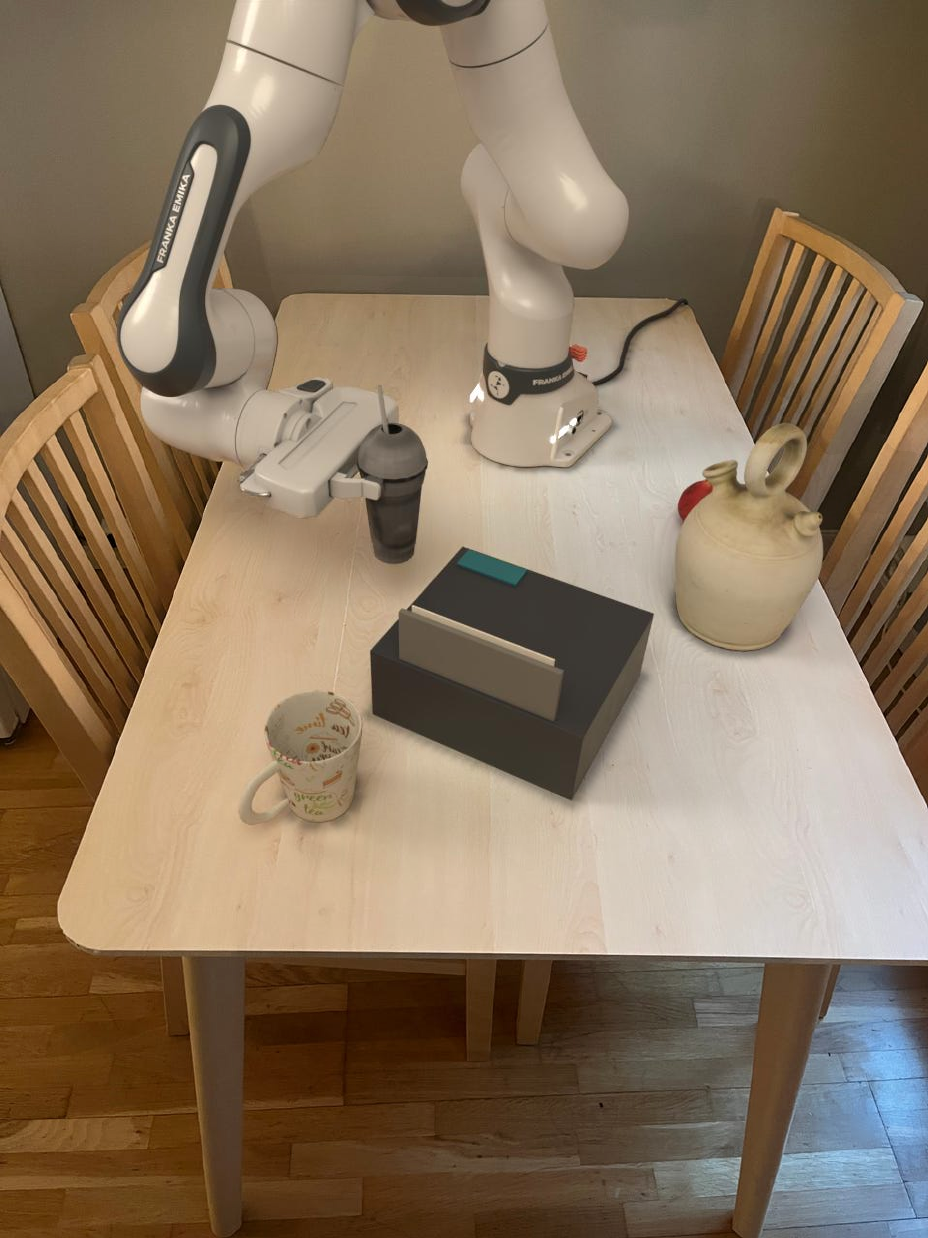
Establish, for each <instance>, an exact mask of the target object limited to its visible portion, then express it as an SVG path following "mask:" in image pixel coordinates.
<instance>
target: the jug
mask: <svg viewBox="0 0 928 1238" xmlns="http://www.w3.org/2000/svg"><path fill="white" fill-rule="evenodd" d="M783 446H784V447H783ZM782 447H783V450H782V453H781V456H780V458H779V460H778V462H777V464H776V465H775V467H774V468H773V470H772V471H771V472H770V473H769V474H768V475H767V473H768V470H769V467H770V465H771V463H772V461H773V460H774V458H775V457H776V455H777V454H778V452H779V451H780V449H782ZM807 449H808V441H807V437H806V433H804V431H803V430H802V428H800V427H798V426H797V425H796V424H792V423H789V422H782V423H778V424H776V425H773V426H772V427H770V428H769V429H767V430H766V431H765V432H764V433H763V434H762V435H761V436H760V437H759V438H758V440H757V441H756V442H755V444H754V445H753V447H752V449H751V450H750V453H749V454H748V457H747V460H746V463H745V467H744V473H743V481H744V483H740V482H739V481H738V479H737V478H738V477H737V476H738V465H739V462H738V461H737V460H735V459H729V460H725V461H721V462H718V463H714V464H712V465H709V466H707V467H706V468H704V469H703V471H701V474H702V477H704V478H705V479H707V480H708V481H709V483H710V484H711V485H712V486H713V490H712V492H711V493H710V494H709V495H707V496H706V497H705V498H703V499H702V500H701V501H700V502H699V503H698V504H697V505H696V506H695V507H694V508H693V509H692V511H691V512H690V513H689V515H688V516H687V517H686V519H685V521H684V522H682V525H681V527H680V530H679V533H678V536H677V540H676V545H675V546H676V547H675V556H674V582H675V584H674V585H675V601H676V611H677V615H678V616H679V619H680V621H681V623H682V624H683V625H684V627H685V628H686V629H687V630H688V631H689V632H690V633H691V634H692V635H694V636H695V637H697V638H699V639H700V640H703V641H704V642H706V643H708V644H710V645H712V646H715V647H719V648H722V649H727V650H730V651H731V650H732V651H740V652H741V651H742V652H743V651H745V652H746V651H757V650H760V649H763V648H767V647H769V646H771V645H772V644H773V643H775V642H776V641H777V639H778V640H779V638H780V637H781V635H782V634H783V632H784V631H785V629H786V628H787V627H788V626H789V625H790V624H791V622H792V621H793V620H794V618H795V617H796V615H797V613H798V612H799V611H800V609H801V607H802V606H803V604H804V603H805V601H806V600H807V598H808V597H809V595H810V594H811V592H812V590H813V589H814V587H815V585H816V583H817V581H818V580H819V577H820V573H821V570H822V566H823V559H824V542H823V537H822V532H821V528H820V525H821V524H822V522H823V515H822V514H821V513H820V511H811V510H810V509H809V508H808V507H807V506H806V505H804V504H803V503H802V502H801V500H799V498H798V499H797V498H796V497H795V496H794V495H792V494H790V493H789V492H787V491H786V489H787V488H788V487H789V486H790V485H791V484H792V483H793V481H794V480H795V479H796V478H797V475H798V474H799V472H800V470H801V468H802V466H803V464H804V461H805V458H806V454H807Z"/></svg>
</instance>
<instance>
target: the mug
mask: <svg viewBox="0 0 928 1238" xmlns="http://www.w3.org/2000/svg"><path fill="white" fill-rule="evenodd" d="M362 736H363V719H362V716H361V713H360V711H359V709H358V707H357V706H356V705H355V704H354V703H353V701H351V700H350V699H348V698H347V697H346V696H344V695H341V694H339V693H336V692H333V691H328V690H320V689H319V690H307V691H302V692H298V693H294V694H293V695H289V696H288V697H287V698H284V699H283V700H281V701H280V702H279V703H277V705H275V707H273V709H272V710H271V711H270V712H269V714H268V716H267V718H266V721H265V724H264V737H265V742H266V746H267V748H268V750H269V751H268V752H269V754H270V756H271V759H272V762H270V763H269V764H267V765H266V766H265V767H264V768H262V769H260V770H259V771H257V773H256V774H254V775H253V776H252V778H251V779H250V780H249V782H248V783H247V784H246V786H245V788H244V790H243V792H242V794H241V796H240V800H239V803H238V816H239V819H240V820H241V822H242V823H244V824H245V825H248V826H256V825H260V824H266V823H268V822H270V821H271V820H273V819H274V818H275V817H277V816H278V815H279V814H280V813H282V811H284V809H286V808H287V806H289V807H290V809H291V810H292V812H293V813H294V814H295V815H296V816H298V817H299V818H300V819H302V820H305V821H307V822H311V823H325V822H329V821H333V820H335V819H337V818H339V817H340V816H342V815H343V814H344V813H345V812H346V811H348V810H349V808H350V806H351V805H352V802H353V799H354V795H355V788H356V782H357V774H358V773H357V772H358V767H359V759H360V752H361V751H360V750H361V743H362ZM275 774H277V776H278V778H279V781H280V783H281V786H282V789H283V792H284V795H285V797H286V798H284V799H282V800H281V801H279V802H278V803H276V804H275V805H274V806H272V807H271V808H269V809H268V810H266V811H264V812H261V813H260V812H259V813H258V812H255V811H254V810H253V807H252V806H253V800H254V798H255V796H256V794H257V792H258V791H259V789H260V788H261V786H262V785H263V784H264V783H266V781H268V780H269V779H270V778H272V777H273V776H274V775H275Z"/></svg>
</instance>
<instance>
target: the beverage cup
mask: <svg viewBox="0 0 928 1238" xmlns="http://www.w3.org/2000/svg"><path fill="white" fill-rule="evenodd" d="M376 390H377V391H376V392H377V393H378V398H379V405H380V411H381V418H382V425H379V426H377V427H375V428H374V429H372V430H371V431H370V432H369V433H368V434H367V435H366V436H365V438H364V439H363V441H362V443H361V446H360V450H359V455H358V461H357V467H358V470H359V472H358V473H359V476H360V478H366V477H367V476H368V475H372V476H375V477H376V478H378V477H379V478H382V479H383V480H384V482H385V486H384V488H385V492H384V493H383V494H382V495H381V496H380V498H379V499H378V500H372V499H369V498H365V497H364V500H365V506H366V513H367V521H368V528H369V534H370V540H371V544H372V549H373V556H374V557H375V558H376V559H377V560H378V561H379V562H381V563H384V564H387V565H399V564H404V563H406V562H409V561H410V560H411V559H412V558H413V556H414V555H415V547H416V544H417V537H418V536H417V535H418V528H419V527H418V525H419V519H420V518H419V517H420V509H421V507H420V506H421V499H422V489H423V484H424V482H425V478H426V472H427V470H428V465H429V461H428V458H427V452H426V448H425V445H424V444H423V442H422V439H421V438H420V436H419V435H418V433H417V432H415V431H414V430H413V429H412V428H410V427H409V426H407V425H405V424H402V423H400V422H399V423H387V418H386V411H385V404H384V398H383V394H384V392H383V385H382V384H377V385H376Z"/></svg>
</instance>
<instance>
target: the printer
mask: <svg viewBox="0 0 928 1238" xmlns="http://www.w3.org/2000/svg"><path fill="white" fill-rule="evenodd" d="M654 617H655V614H654V612H651V611H648V610H645V609H642V608H639V607H636V606H633V605H632V604H631V605H630V604H628V603H625V602H622V601H619V600H617V599H614V598H612V597H608V596H605V595H602V594H599V593H596V592H594V591H591V590H588V589H585V588H582V587H579V586H576V585H573V584H571V583H568V582H565V581H563V580H560V579H557V578H555V577H551V576H548V575H546V574H543V573H539V572H537V571H535V570H531V569H528V568H525V567H523V566H520V565H517V564H514V563H511V562H508V561H506V560H503V559H500V558H497V557H494V556H491V555H489V554H485V553H483V552H480V551H477V550H475V549H472V548H469V547H465V546H461V547H460V549H459V550H458V551H457V552H456V553H455V554H454V555H453V556H452V558H451V559H450V560H449V561H448V562H447V563H446V565H444V567H442V569H441V570H440V571H439V573H438V574H437V575H435V576H434V578H433V579H432V580H431V581H430V583H428V584H427V586H426V587H425V588H424V589H423V591H421V593H420V594H419V595H418V596H417V597H416V598H415V599H414V600H413V602H412V603H410V605H409V606H408V607H407V608H406V609H405V608H400V609H399V610H398V618H397V619H396V620H395V622H394V623H393V624H392V625H391V626H390V628H389V629H388V630H387V631H386V632H385V633H384V634H383V636H381V638H380V639H379V640H378V641H377V642H376V643H375V644H374V645H373V646H372V648H371V649H370V651H369V660H370V680H371V681H370V683H371V684H370V685H371V709H372V711H371V712H372V715H374V716H375V717H378V718H380V719H383V720H385V721H388V722H389V723H392V724H394V725H397V726H399V727H402V728H404V729H406V730H408V731H410V732H413V733H415V734H417V735H419V736H422V737H424V738H427V739H429V740H431V741H433V742H436V743H438V744H440V745H442V746H444V747H447V748H449V749H452V750H455V751H456V752H459V753H461V754H464V755H466V756H469V757H470V758H473V759H475V760H478V761H479V762H482V763H484V764H486V765H489V766H491V767H494V768H496V769H498V770H501V771H503V772H504V773H508V774H509V775H512V776H515V777H516V778H519V779H520V780H523V781H526V782H528V783H530V784H533V785H534V786H537V787H540V788H542V789H545V790H547V791H549V792H551V793H553V794H556V795H558V796H560V797H562V798H565V799H567V800H570V801H572V800H573V799H574V797H575V795H576V793H577V792H578V789H579V788H580V786H581V784H582V783H583V781H584V778H585V777H586V775H587V773H588V772H589V769H590V768H591V766H592V764H593V762H594V760H595V759H596V757H597V755H598V754H599V753H598V752H599V751H600V749H601V747H602V745H603V744H604V742H605V740H606V738H607V737H608V734H609V733H610V731H611V729H612V727H613V725H614V724H615V721H616V720H617V719H618V716H619V714H620V712H621V711H622V709H623V707H624V705H625V703H626V701H627V700H628V698H629V697H630V695H631V693H632V690H633V689H634V687H635V685H636V683H637V681H638V680H639V678H640V676H641V671H642V666H643V663H644V659H645V654H646V651H647V645H648V642H649V638H650V633H651V630H652V629H651V628H652V626H653V625H652V624H653V621H654Z"/></svg>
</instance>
